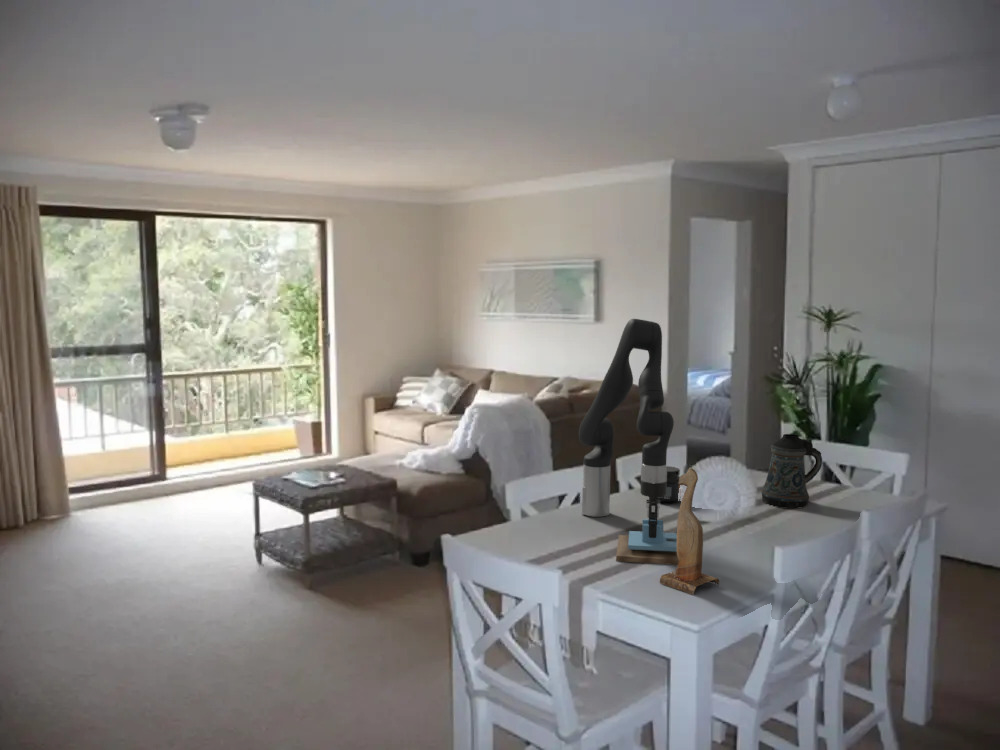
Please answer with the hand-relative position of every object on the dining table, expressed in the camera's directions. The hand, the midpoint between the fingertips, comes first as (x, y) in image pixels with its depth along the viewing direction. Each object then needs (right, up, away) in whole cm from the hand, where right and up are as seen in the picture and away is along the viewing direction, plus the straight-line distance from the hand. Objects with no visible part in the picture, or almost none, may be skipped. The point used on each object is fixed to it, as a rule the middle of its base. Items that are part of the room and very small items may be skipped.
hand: (652, 533), depth 245 cm
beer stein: (+60, 0, +57) cm, 83 cm away
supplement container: (+16, +1, +58) cm, 60 cm away
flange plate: (0, -3, 0) cm, 3 cm away
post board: (0, -5, +1) cm, 6 cm away
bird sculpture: (+5, -9, -26) cm, 27 cm away
